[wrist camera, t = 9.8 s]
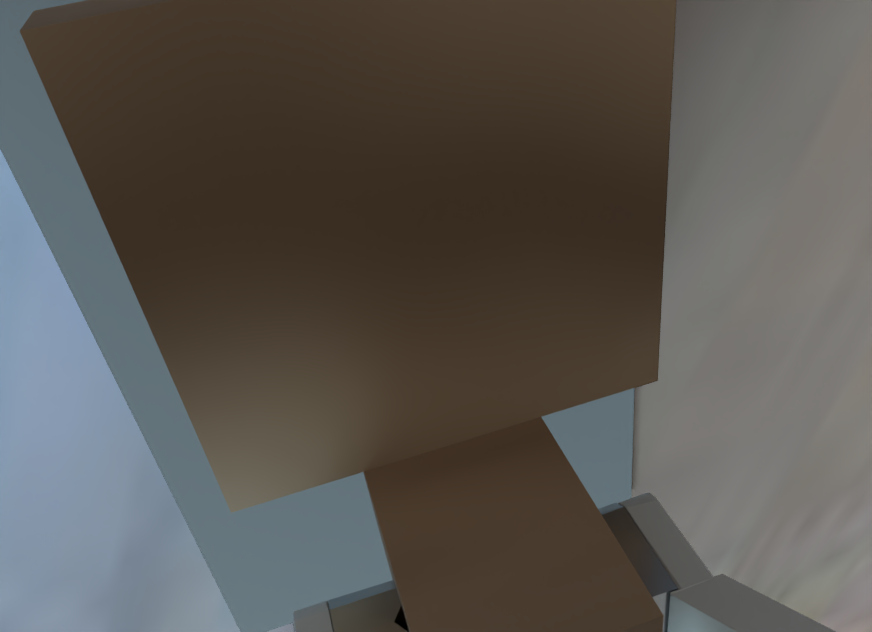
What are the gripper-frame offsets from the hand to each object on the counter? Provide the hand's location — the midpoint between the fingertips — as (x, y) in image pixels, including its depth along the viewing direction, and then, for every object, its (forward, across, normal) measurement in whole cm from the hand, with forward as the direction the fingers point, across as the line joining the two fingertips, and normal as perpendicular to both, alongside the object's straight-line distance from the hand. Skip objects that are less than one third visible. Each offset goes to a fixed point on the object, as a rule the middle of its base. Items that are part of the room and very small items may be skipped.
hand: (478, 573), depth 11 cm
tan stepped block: (+1, 0, -1) cm, 2 cm away
